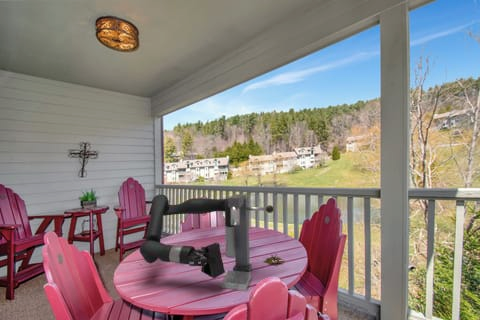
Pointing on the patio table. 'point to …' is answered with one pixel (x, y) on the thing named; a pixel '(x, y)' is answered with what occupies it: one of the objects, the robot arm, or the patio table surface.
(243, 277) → the arbor press
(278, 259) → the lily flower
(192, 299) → the patio table surface
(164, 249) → the robot arm
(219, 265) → the phone stand
